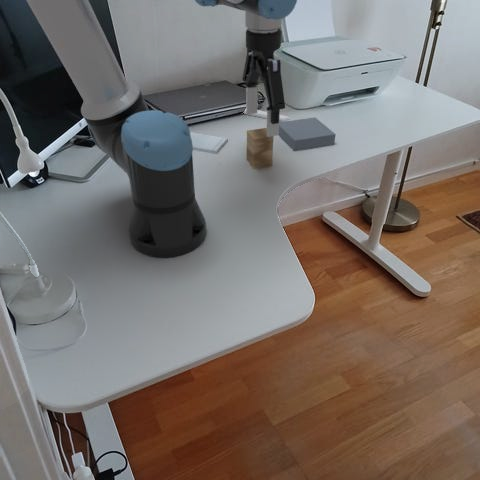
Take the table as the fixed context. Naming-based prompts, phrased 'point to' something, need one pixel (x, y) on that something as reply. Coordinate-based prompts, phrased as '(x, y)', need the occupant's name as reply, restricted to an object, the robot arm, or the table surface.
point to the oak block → (259, 148)
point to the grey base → (306, 134)
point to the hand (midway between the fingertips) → (261, 123)
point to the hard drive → (207, 143)
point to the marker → (264, 115)
